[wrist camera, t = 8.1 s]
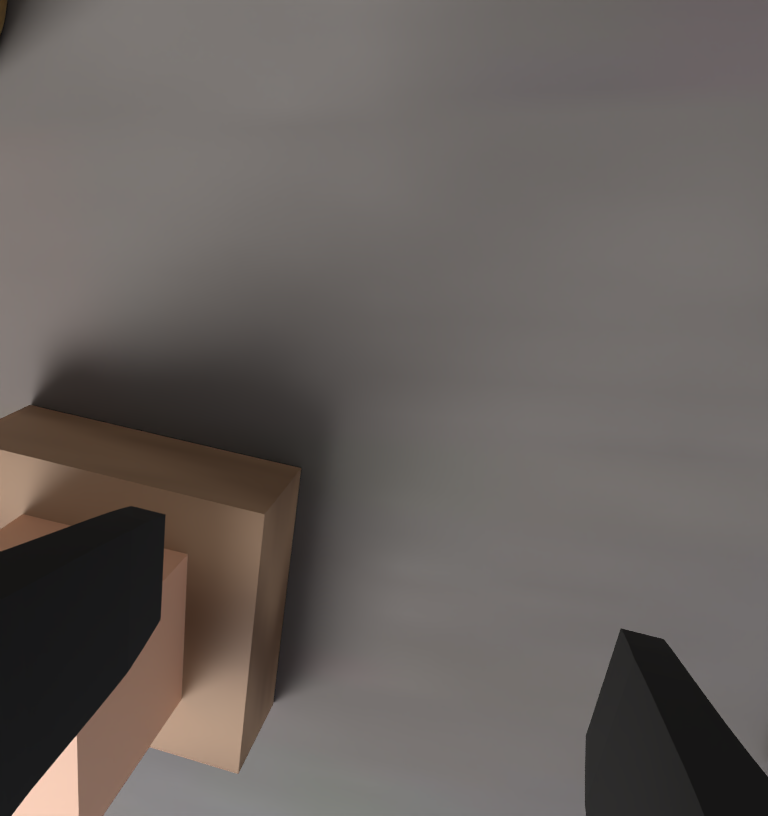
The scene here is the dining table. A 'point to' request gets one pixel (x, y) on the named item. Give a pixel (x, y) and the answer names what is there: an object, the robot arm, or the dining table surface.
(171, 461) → the tan square slab
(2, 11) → the plant pot
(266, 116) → the dining table surface
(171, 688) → the terracotta cube
